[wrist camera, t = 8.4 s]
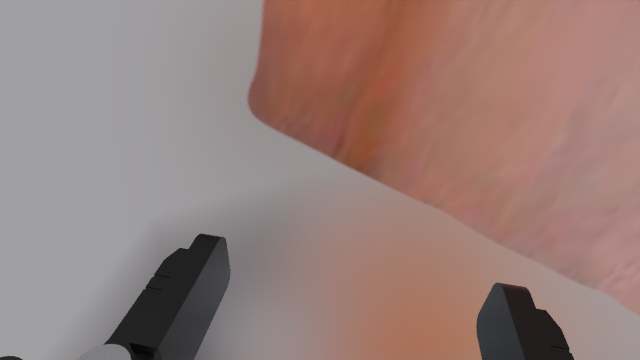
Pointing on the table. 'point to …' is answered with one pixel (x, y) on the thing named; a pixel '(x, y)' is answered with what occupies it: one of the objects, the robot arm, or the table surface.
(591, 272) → the table surface
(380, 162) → the table surface
